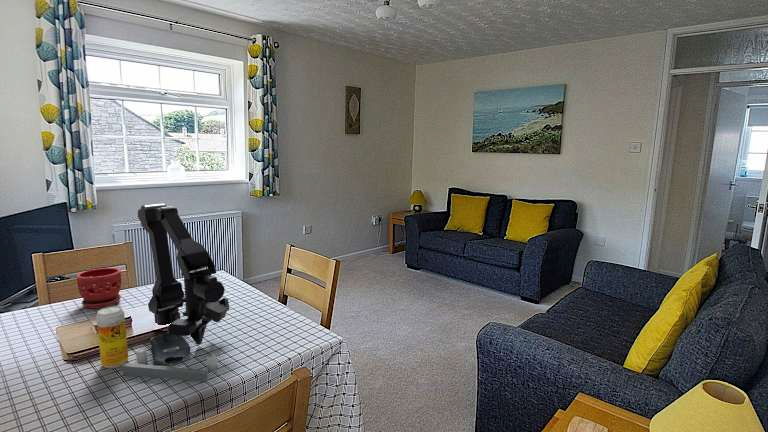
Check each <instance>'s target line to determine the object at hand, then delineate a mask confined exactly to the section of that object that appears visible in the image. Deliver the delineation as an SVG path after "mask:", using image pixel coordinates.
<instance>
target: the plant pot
mask: <svg viewBox="0 0 768 432" xmlns="http://www.w3.org/2000/svg"><path fill="white" fill-rule="evenodd" d="M76 282H77V283H76V284H77V288H78V289H77V290H78V293H79V295H80V296H81V298H82V299H83V300H82V301H81V305H82V306H84V307H85V308H89V309H103V308H107V307H111V306H112V305H114V304H117V303H118V302H119V301H120V300H121V296H122V295H121V294H119V293H120V291H121V287H122V270H121V269H120V268H118V267H101V268H95V269H89V270H86V271H85V270H84V271H83V272H80V273H78V274H77V275H76Z"/></svg>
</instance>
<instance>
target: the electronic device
mask: <svg viewBox="0 0 768 432" xmlns="http://www.w3.org/2000/svg"><path fill="white" fill-rule="evenodd" d="M149 343H150V345H151V349H152V353H153V355H152V360H153V362H154V363H156V365H157V364H158V365H159V366H169V367H172V365H174V364H175V365H176V364H178V363H181V362H182V361H185V359H188V357H189V356H190V354H191V346H190V344H189V343H188V342H187V340H186V339H185V338H184V337H183V336H180V335H169V334H168V332H163V333H162V334H158V335H155V336H152V337H151V338H150V339H149ZM180 357H181V358H182V359H181V360H179V361H177V362H173V361H176V360H178V359H180ZM168 362H173V363H168Z"/></svg>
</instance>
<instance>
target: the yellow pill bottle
mask: <svg viewBox="0 0 768 432" xmlns="http://www.w3.org/2000/svg"><path fill="white" fill-rule="evenodd" d="M125 318H126V317H125V311H124V310H123V308H122V307H121V306H118V305H117V306H112V305H111V306H107V307H105V308H103V307H102V308H100V309H99V310H98V311H97V314H96V327H97V329H96V330H97V335H98V336H97V337H98V346H99V354H100V364H101V366H103V367H104V368H106V369H115V368H119V367H122V365H124V364H125V363H127V361H128V360H129V351H128V350H129V347H128V338H127V331H126V330H127V328H126V319H125Z"/></svg>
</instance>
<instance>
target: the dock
mask: <svg viewBox="0 0 768 432" xmlns="http://www.w3.org/2000/svg"><path fill="white" fill-rule="evenodd" d="M135 358H136V363H132V362H126V363H125V364H123V365H121V371H122V376H128V377H129V376H133V377H141V378H154V379H161V380H162V379H163V380H165V379H166V380H171V381H172V380H173V381H183V382H184V381H185V382H193V383H196V382H197V383H206V382H207V381H208V376H209V375H208V373H215V372H217V371H218V370H219V367H218V355H216V354H211V355H208V356H207V358H206V360H207V369H203V368H202V369H201V368H200V369H198V368H189V367H188V368H187V367H178V366H169V365H157V364H156V365H155V364H154V365H153V364H148V353H147V349H145V348H141V349H138V350H136V351H135Z"/></svg>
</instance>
